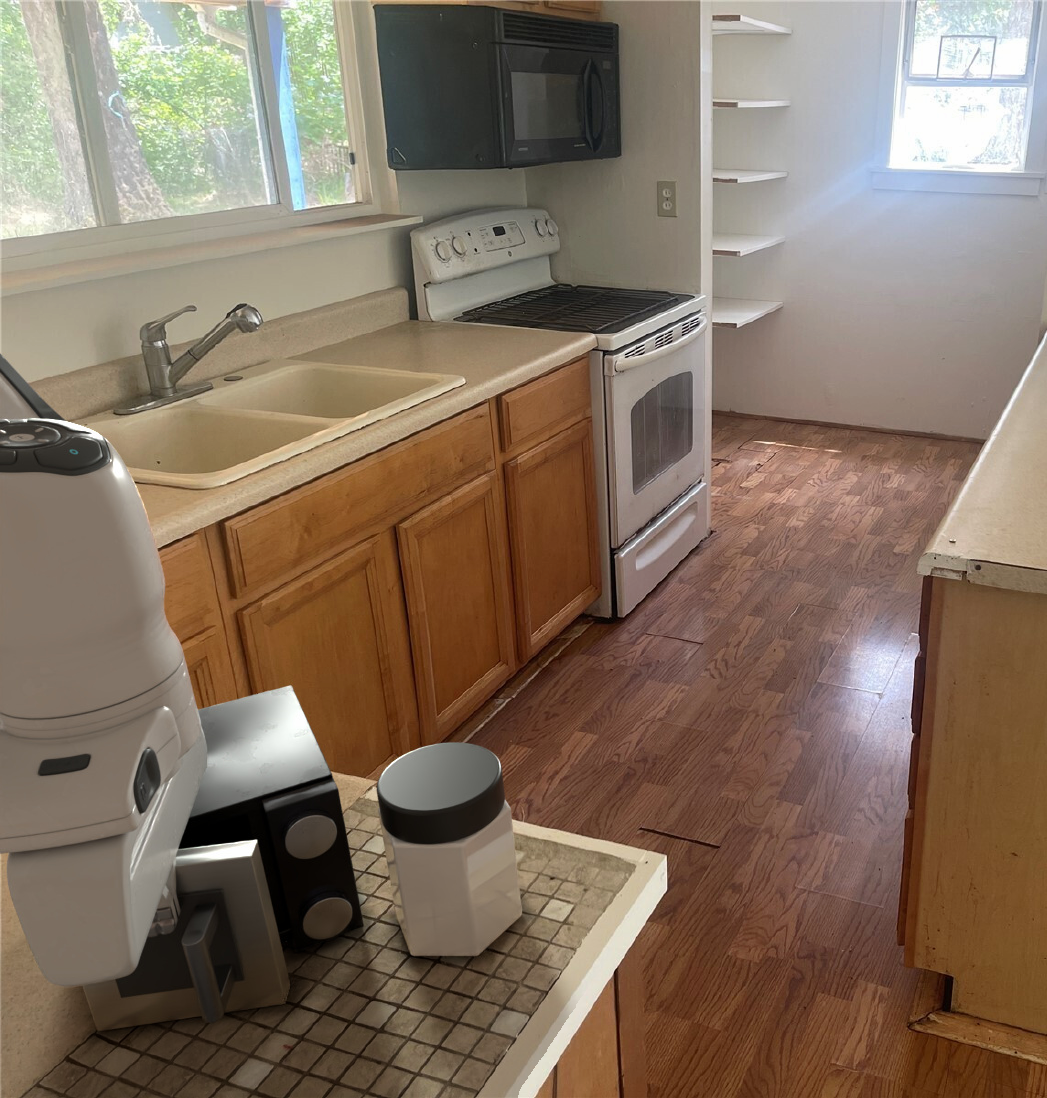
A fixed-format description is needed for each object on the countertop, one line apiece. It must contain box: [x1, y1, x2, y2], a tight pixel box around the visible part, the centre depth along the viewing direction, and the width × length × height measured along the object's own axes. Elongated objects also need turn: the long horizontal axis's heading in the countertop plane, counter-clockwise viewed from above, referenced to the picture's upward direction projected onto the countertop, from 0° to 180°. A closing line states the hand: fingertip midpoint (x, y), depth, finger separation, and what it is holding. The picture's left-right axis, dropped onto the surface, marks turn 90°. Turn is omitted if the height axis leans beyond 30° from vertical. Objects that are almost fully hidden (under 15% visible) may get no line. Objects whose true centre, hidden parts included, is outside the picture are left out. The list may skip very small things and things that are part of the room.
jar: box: [376, 742, 523, 957], centre depth 71 cm, size 9×8×12 cm
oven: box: [178, 684, 365, 953], centre depth 71 cm, size 16×16×12 cm
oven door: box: [81, 840, 291, 1032], centre depth 62 cm, size 5×11×12 cm, turn 101°
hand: (163, 925), depth 60 cm, fingers closed
